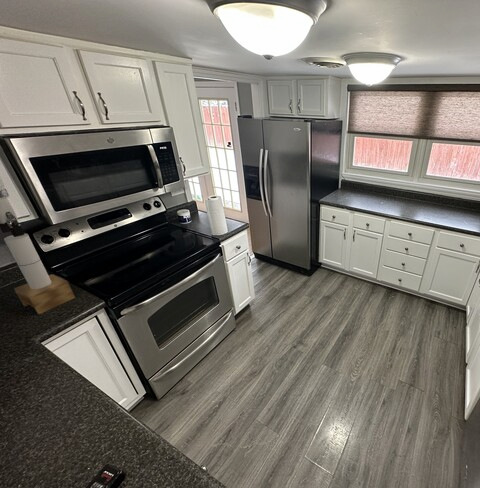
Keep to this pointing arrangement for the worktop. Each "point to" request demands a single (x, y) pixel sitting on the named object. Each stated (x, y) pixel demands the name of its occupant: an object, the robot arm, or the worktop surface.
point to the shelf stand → (46, 294)
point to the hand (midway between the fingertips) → (13, 233)
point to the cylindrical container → (28, 261)
